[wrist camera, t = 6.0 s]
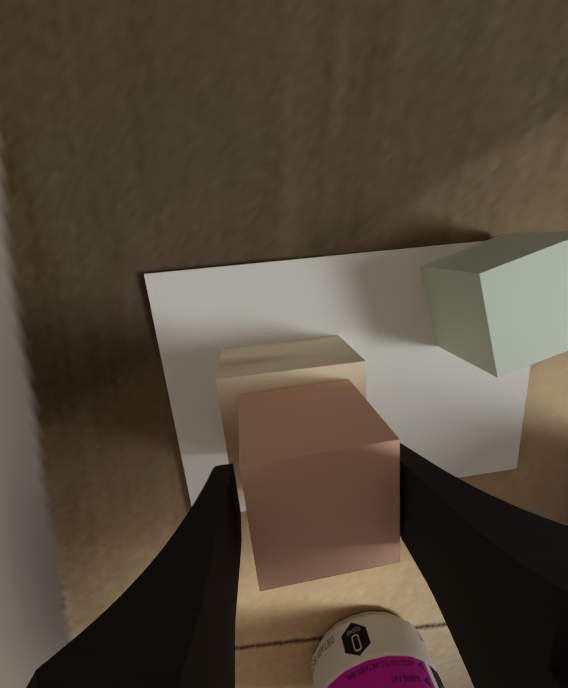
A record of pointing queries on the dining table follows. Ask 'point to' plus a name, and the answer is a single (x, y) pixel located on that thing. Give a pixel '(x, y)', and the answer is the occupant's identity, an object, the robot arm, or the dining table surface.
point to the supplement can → (373, 655)
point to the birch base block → (279, 377)
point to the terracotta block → (318, 483)
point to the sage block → (502, 300)
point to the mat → (357, 331)
